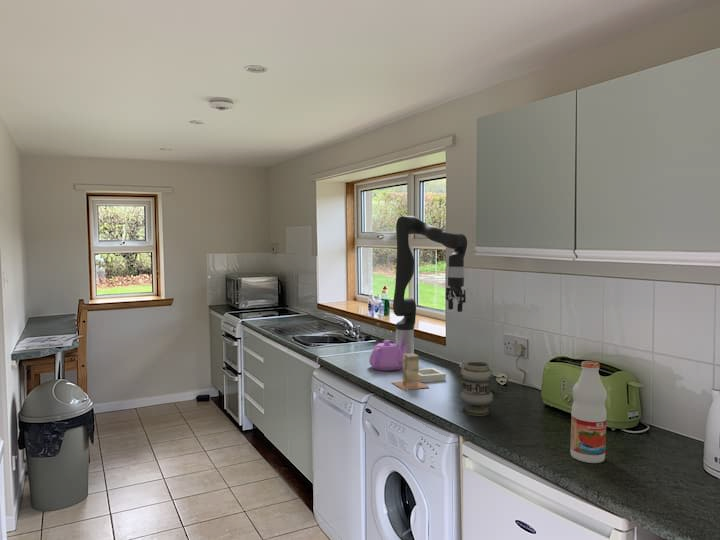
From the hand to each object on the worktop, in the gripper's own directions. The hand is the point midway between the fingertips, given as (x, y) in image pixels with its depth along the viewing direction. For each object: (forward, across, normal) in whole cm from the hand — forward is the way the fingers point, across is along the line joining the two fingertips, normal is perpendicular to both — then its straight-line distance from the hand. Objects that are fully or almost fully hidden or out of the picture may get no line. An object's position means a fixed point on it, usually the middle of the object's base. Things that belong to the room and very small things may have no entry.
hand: (455, 310), depth 255 cm
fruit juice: (+30, +100, -13) cm, 105 cm away
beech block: (+30, +13, -29) cm, 43 cm away
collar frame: (+30, +4, -16) cm, 34 cm away
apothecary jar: (+30, +53, -21) cm, 65 cm away
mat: (+30, +13, -29) cm, 44 cm away
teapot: (+30, -18, -25) cm, 43 cm away
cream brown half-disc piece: (+30, +22, -4) cm, 38 cm away
